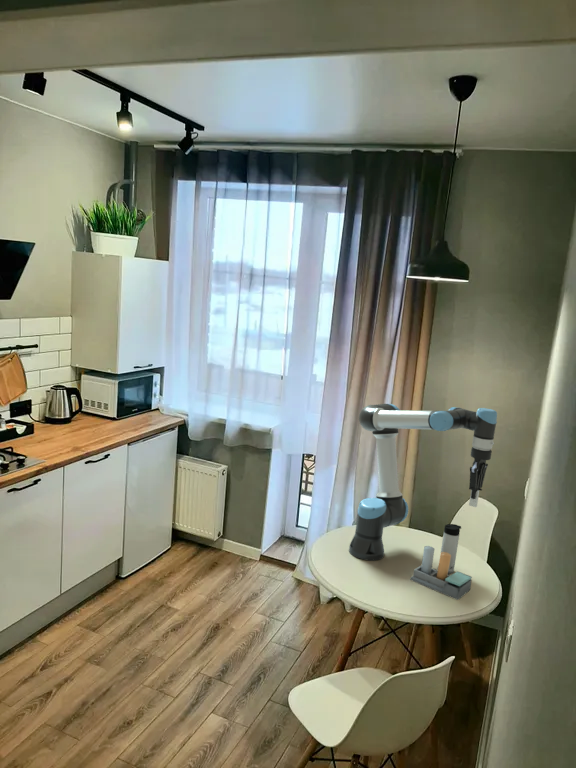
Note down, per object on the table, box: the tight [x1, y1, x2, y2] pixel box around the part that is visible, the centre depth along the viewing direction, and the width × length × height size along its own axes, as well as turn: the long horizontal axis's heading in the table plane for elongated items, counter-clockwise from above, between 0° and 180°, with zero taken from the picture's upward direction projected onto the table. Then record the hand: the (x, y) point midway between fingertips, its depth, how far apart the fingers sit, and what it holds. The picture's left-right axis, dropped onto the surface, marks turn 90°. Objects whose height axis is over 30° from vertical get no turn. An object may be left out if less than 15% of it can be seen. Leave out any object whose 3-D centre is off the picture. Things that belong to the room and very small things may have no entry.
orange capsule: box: [436, 551, 451, 581], centre depth 225 cm, size 4×4×12 cm
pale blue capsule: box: [421, 545, 435, 575], centre depth 230 cm, size 4×4×12 cm
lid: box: [445, 570, 473, 586], centre depth 222 cm, size 6×12×1 cm, turn 140°
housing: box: [409, 564, 473, 601], centre depth 226 cm, size 20×12×4 cm, turn 50°
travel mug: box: [439, 523, 462, 575], centre depth 238 cm, size 6×7×20 cm
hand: (472, 505), depth 226 cm, fingers closed
